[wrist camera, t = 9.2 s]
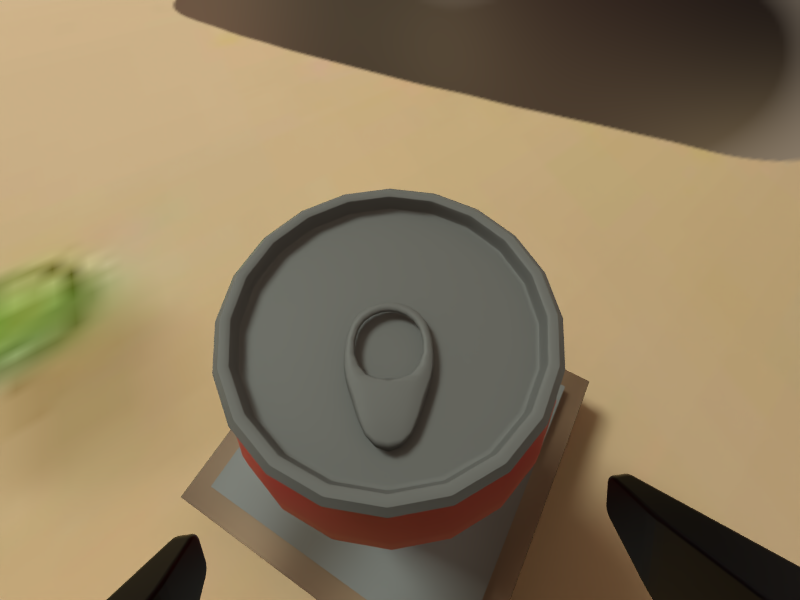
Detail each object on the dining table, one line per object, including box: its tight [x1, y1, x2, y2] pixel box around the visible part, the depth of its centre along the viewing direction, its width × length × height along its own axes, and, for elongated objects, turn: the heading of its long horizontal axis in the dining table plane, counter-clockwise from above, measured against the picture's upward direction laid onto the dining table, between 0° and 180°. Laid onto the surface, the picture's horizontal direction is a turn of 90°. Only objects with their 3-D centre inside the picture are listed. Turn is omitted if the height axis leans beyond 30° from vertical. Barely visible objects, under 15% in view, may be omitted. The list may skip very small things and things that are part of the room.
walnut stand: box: [181, 370, 589, 600], centre depth 18 cm, size 13×13×3 cm
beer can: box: [212, 189, 565, 550], centre depth 12 cm, size 7×7×12 cm
